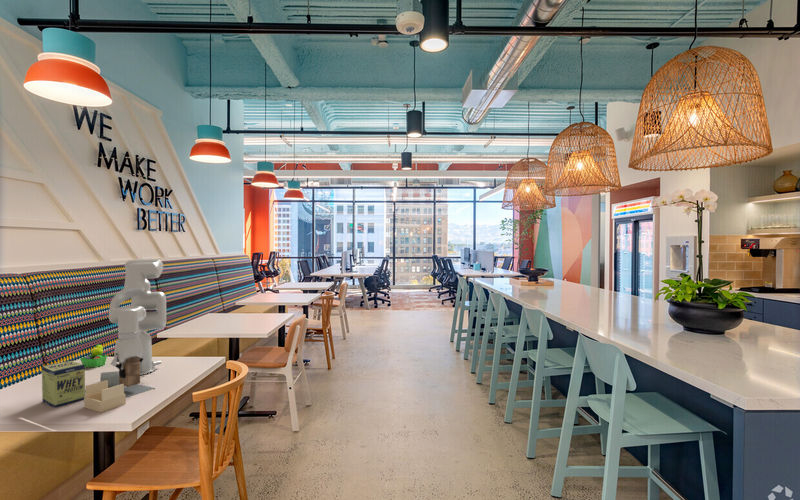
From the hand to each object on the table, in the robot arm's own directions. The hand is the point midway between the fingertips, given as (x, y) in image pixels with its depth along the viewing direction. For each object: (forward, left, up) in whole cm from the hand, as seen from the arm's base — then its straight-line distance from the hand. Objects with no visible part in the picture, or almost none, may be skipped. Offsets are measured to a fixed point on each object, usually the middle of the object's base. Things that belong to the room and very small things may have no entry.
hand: (129, 375), depth 177 cm
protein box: (+18, -16, -8) cm, 25 cm away
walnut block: (0, 0, -4) cm, 4 cm away
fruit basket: (-17, -65, -8) cm, 68 cm away
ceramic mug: (0, -17, -8) cm, 19 cm away
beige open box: (+14, +8, -8) cm, 18 cm away
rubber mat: (0, 0, -8) cm, 8 cm away
